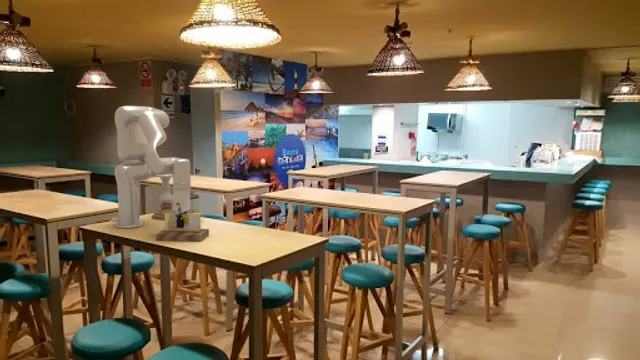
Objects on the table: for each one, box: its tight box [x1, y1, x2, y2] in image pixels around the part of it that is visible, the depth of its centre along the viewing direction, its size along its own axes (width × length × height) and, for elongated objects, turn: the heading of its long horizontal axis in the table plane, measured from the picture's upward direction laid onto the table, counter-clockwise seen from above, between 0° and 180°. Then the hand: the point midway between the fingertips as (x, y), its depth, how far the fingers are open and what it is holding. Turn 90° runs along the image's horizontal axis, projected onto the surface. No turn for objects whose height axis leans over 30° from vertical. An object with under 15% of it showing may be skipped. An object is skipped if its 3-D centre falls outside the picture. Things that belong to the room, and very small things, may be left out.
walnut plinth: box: [155, 228, 210, 243], centre depth 207 cm, size 20×12×3 cm, turn 86°
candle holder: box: [151, 174, 174, 221], centre depth 250 cm, size 11×11×24 cm
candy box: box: [164, 212, 202, 232], centre depth 207 cm, size 16×2×8 cm, turn 85°
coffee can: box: [179, 193, 200, 213], centre depth 240 cm, size 10×10×14 cm
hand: (182, 226), depth 207 cm, fingers open, 5 cm apart
